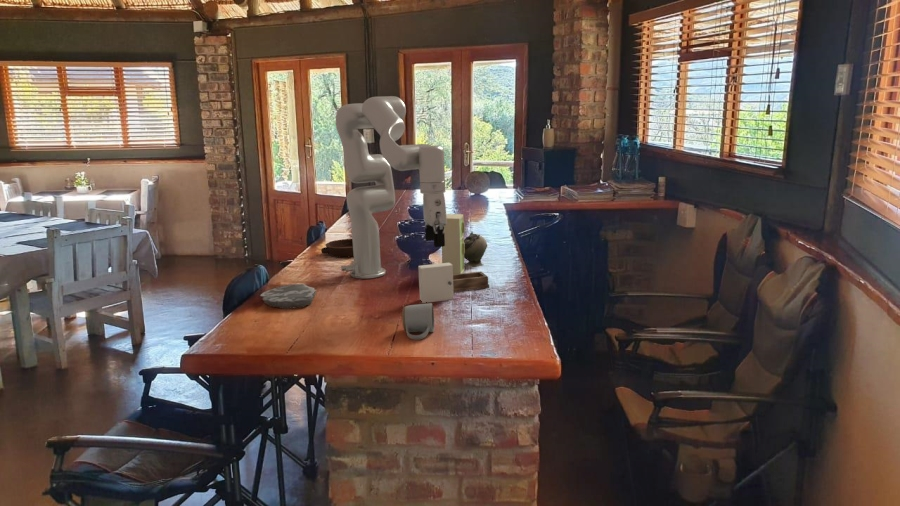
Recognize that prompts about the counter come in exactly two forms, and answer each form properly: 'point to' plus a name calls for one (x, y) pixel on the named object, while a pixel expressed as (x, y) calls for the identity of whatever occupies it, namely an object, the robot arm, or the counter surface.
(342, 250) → the dish
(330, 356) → the counter surface
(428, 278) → the rectangular block
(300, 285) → the brain slice
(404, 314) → the ceramic mug
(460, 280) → the brown wooden tray
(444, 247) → the toy refrigerator
